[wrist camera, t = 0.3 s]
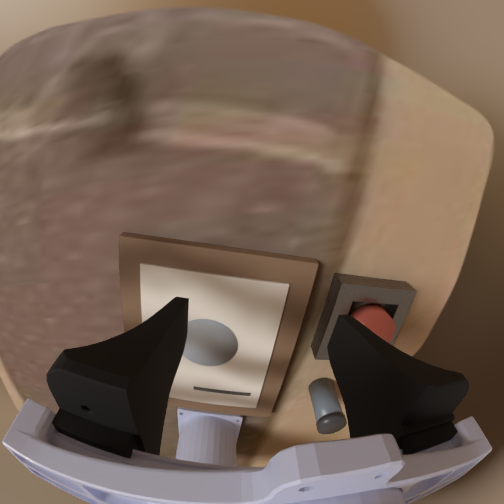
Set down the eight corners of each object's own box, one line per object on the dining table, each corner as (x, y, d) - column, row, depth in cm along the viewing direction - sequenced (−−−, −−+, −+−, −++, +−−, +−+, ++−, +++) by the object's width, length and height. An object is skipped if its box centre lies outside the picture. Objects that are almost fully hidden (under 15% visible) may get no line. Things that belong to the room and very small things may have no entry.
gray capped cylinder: (328, 393, 28) (340, 432, 22) (304, 394, 28) (313, 434, 22) (336, 377, 27) (351, 417, 21) (312, 377, 27) (323, 419, 21)
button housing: (378, 347, 26) (385, 358, 24) (310, 346, 25) (315, 359, 23) (406, 281, 23) (416, 291, 21) (334, 272, 22) (341, 283, 21)
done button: (376, 342, 24) (383, 355, 22) (337, 342, 23) (343, 355, 21) (392, 304, 22) (402, 316, 20) (352, 301, 22) (360, 314, 20)
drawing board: (269, 410, 29) (269, 418, 27) (138, 392, 27) (135, 399, 26) (315, 259, 22) (319, 265, 21) (123, 232, 21) (117, 236, 19)
